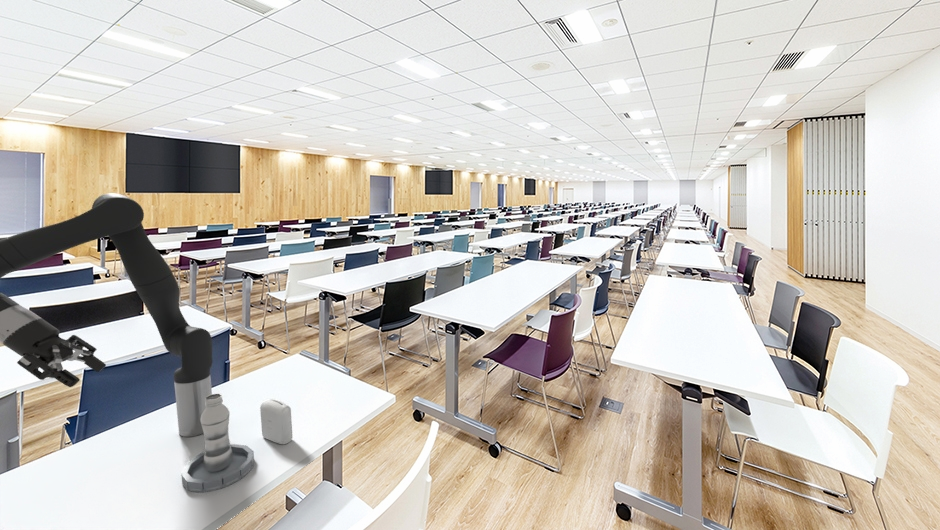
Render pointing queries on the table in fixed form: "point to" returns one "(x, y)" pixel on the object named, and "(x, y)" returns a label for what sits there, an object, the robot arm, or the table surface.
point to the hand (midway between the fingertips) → (89, 375)
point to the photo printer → (276, 421)
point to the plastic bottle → (216, 434)
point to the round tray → (206, 481)
